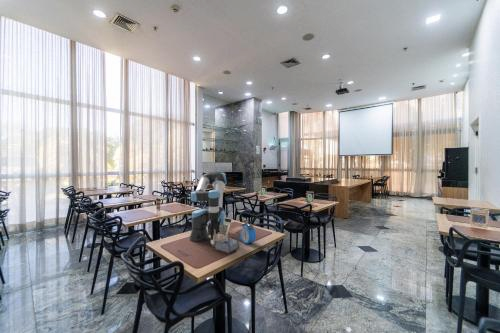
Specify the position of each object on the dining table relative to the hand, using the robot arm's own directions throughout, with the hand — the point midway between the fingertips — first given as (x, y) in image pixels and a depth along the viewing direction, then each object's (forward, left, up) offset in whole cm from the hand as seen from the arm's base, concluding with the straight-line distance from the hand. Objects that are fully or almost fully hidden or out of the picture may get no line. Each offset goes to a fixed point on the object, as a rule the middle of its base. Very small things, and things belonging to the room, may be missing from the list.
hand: (214, 243), depth 158 cm
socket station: (+12, +3, -2) cm, 13 cm away
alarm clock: (+17, +19, -2) cm, 26 cm away
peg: (0, 0, -2) cm, 2 cm away
